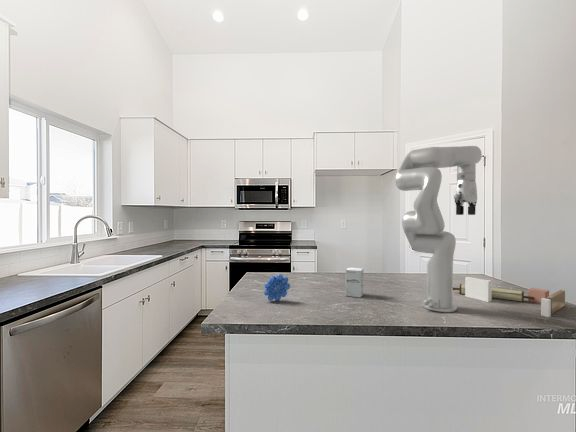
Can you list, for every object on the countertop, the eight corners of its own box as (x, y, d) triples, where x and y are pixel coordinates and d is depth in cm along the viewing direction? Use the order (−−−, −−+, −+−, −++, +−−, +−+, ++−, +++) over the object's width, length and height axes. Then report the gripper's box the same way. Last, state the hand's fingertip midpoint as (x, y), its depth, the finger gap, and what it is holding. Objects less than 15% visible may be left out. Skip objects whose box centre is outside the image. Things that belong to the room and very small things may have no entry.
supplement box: (345, 296, 148) (345, 269, 148) (348, 292, 155) (348, 266, 154) (361, 298, 145) (361, 270, 145) (363, 294, 152) (363, 267, 152)
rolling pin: (534, 302, 139) (534, 291, 139) (534, 305, 134) (534, 293, 134) (452, 291, 158) (452, 281, 158) (450, 294, 153) (450, 283, 153)
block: (544, 304, 135) (545, 291, 135) (528, 301, 140) (528, 289, 140) (549, 303, 138) (549, 290, 138) (532, 299, 143) (532, 287, 143)
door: (545, 314, 122) (545, 297, 122) (560, 305, 134) (560, 289, 134) (550, 315, 120) (550, 298, 120) (565, 306, 133) (565, 290, 133)
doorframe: (548, 317, 119) (548, 293, 118) (462, 297, 147) (462, 277, 146) (554, 314, 121) (554, 291, 121) (468, 295, 149) (468, 276, 149)
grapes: (289, 298, 144) (289, 271, 144) (290, 302, 137) (290, 274, 137) (263, 298, 143) (263, 272, 143) (263, 302, 136) (263, 275, 136)
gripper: (463, 175, 139) (463, 214, 139) (484, 178, 148) (484, 214, 148) (447, 177, 145) (447, 214, 145) (468, 179, 154) (468, 214, 154)
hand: (465, 214), depth 146 cm, fingers open, 9 cm apart
